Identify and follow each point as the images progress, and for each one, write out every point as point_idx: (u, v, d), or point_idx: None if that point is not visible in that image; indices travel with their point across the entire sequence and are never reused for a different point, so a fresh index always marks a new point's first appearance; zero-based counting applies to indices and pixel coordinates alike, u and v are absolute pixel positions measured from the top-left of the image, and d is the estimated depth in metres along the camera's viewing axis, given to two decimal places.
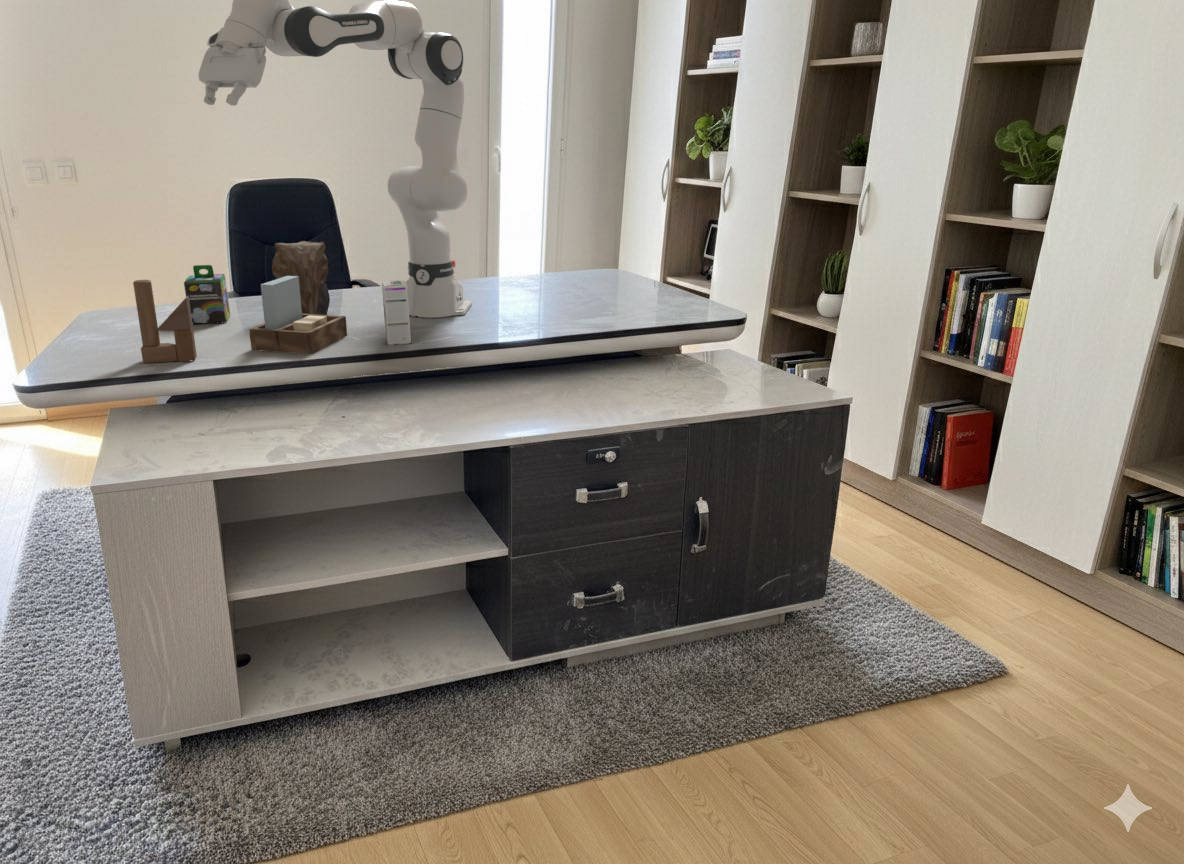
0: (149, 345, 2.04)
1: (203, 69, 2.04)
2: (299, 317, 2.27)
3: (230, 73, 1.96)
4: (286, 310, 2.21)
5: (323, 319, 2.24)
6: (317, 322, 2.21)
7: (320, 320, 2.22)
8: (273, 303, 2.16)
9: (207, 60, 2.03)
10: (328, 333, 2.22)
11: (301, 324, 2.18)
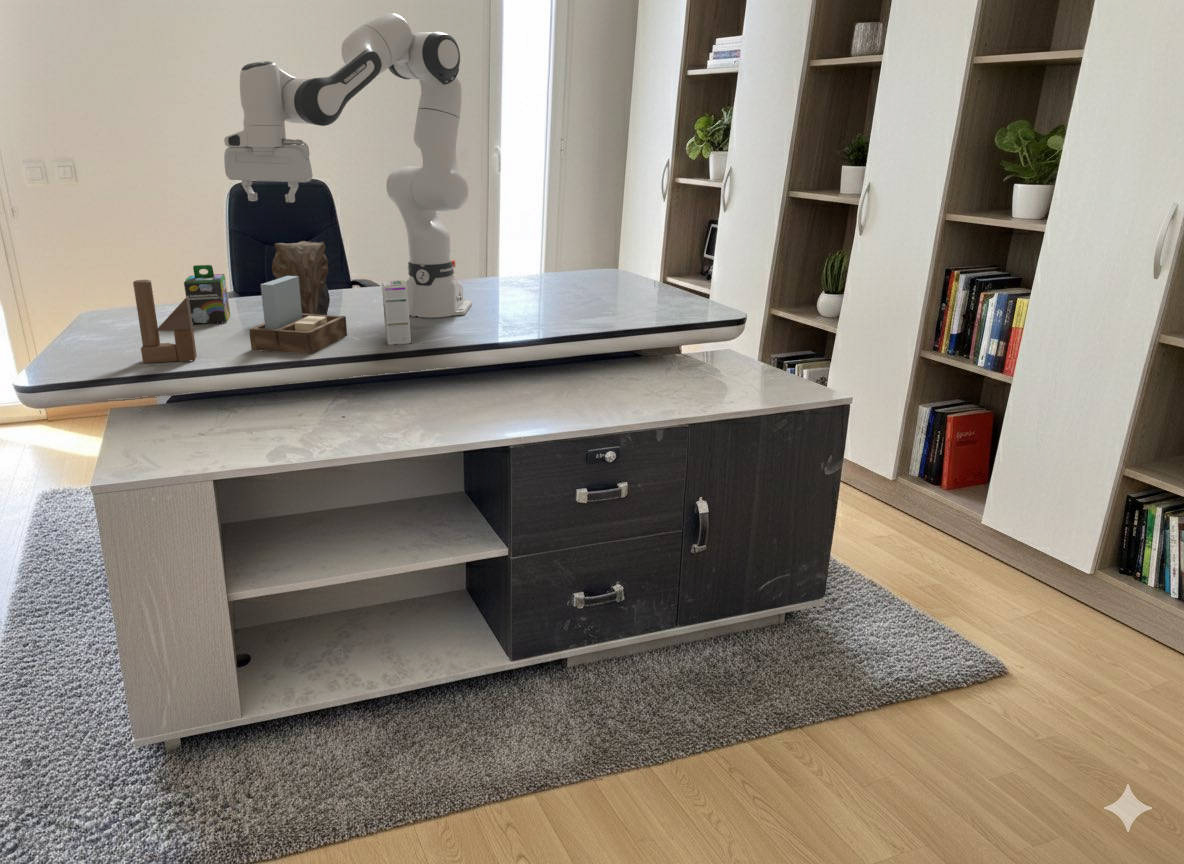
0: (149, 345, 2.04)
1: (231, 169, 2.12)
2: (299, 317, 2.27)
3: (280, 175, 2.10)
4: (286, 310, 2.21)
5: (323, 319, 2.24)
6: (318, 322, 2.21)
7: (321, 320, 2.22)
8: (273, 303, 2.16)
9: (231, 160, 2.11)
10: (328, 333, 2.22)
11: (303, 325, 2.18)
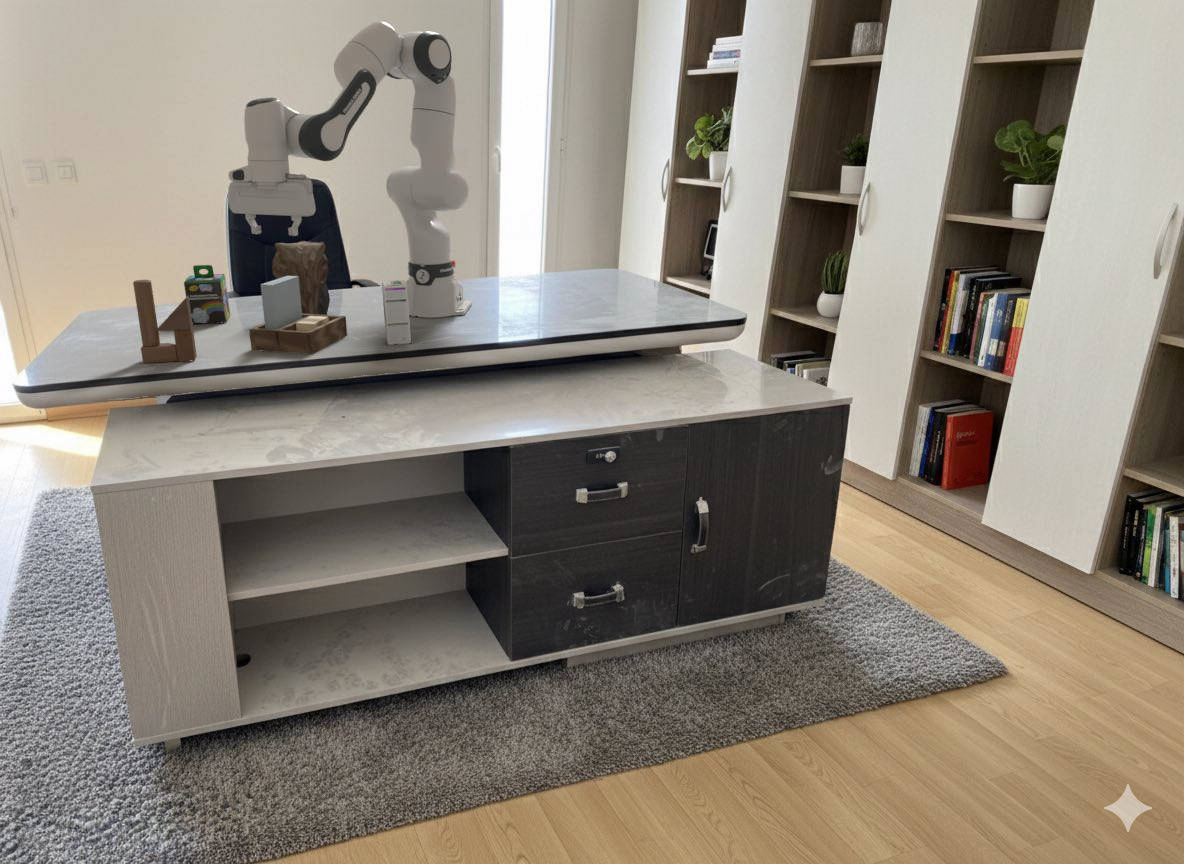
0: (149, 345, 2.04)
1: (234, 202, 2.14)
2: (299, 317, 2.27)
3: (283, 209, 2.12)
4: (286, 310, 2.21)
5: (325, 319, 2.24)
6: (320, 322, 2.21)
7: (322, 320, 2.22)
8: (273, 303, 2.16)
9: (235, 193, 2.13)
10: (328, 333, 2.22)
11: (304, 324, 2.18)
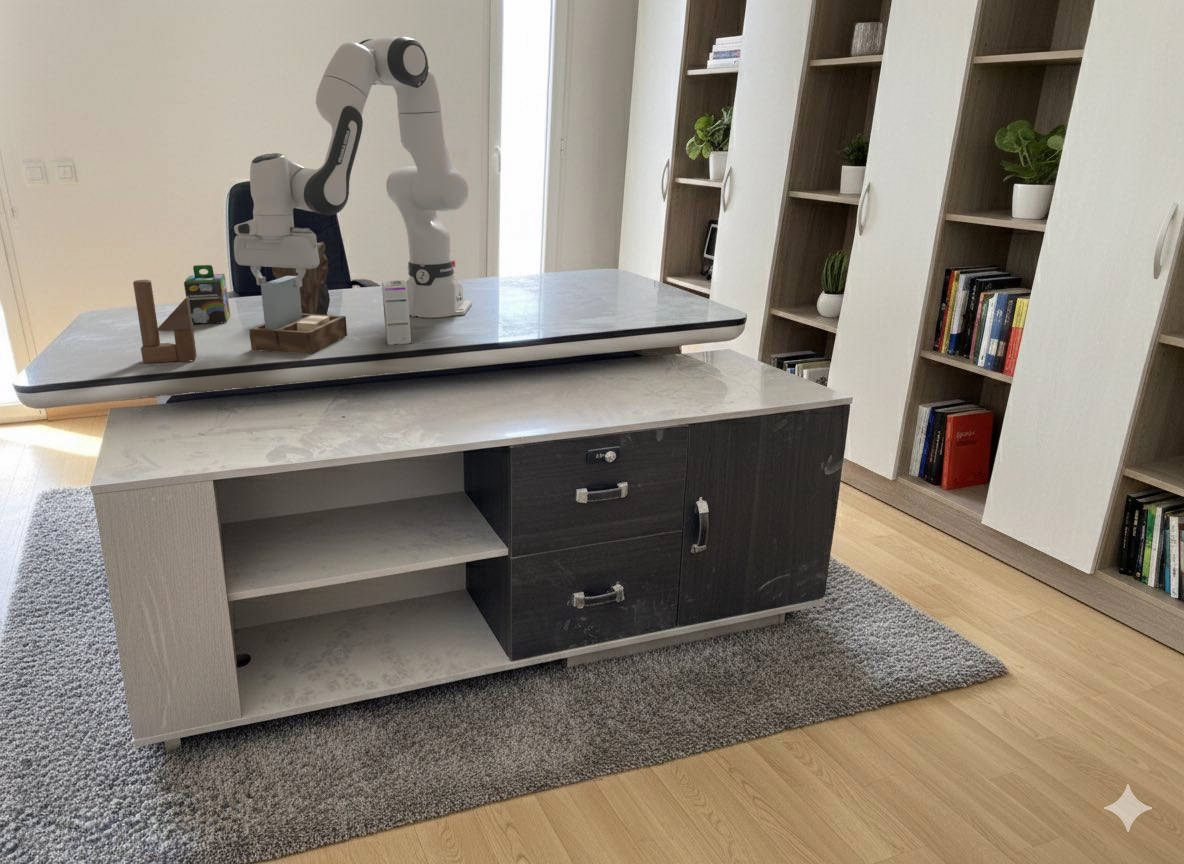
0: (149, 345, 2.04)
1: (240, 255, 2.18)
2: (299, 317, 2.27)
3: (288, 262, 2.16)
4: (286, 310, 2.21)
5: (326, 319, 2.24)
6: (321, 322, 2.21)
7: (323, 320, 2.22)
8: (273, 303, 2.16)
9: (241, 246, 2.17)
10: (328, 333, 2.22)
11: (305, 324, 2.18)
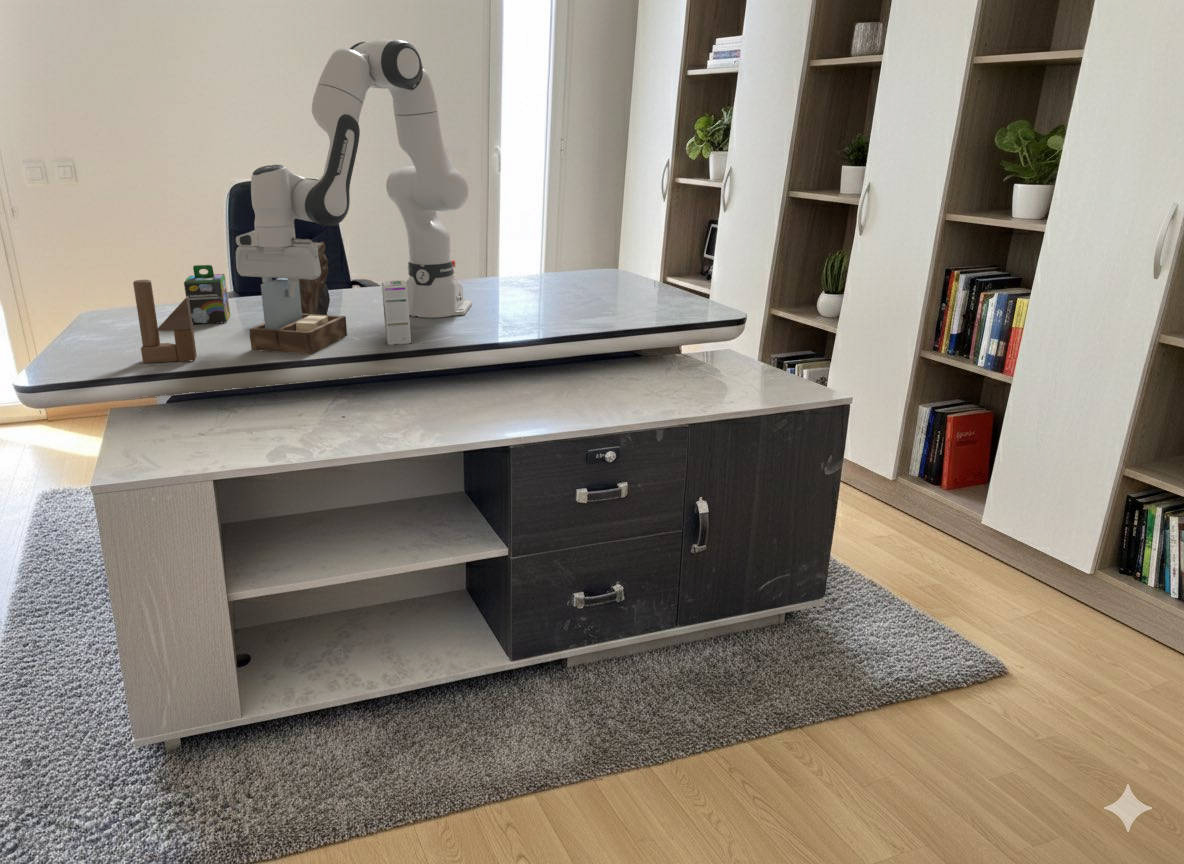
0: (149, 345, 2.04)
1: (242, 266, 2.19)
2: (299, 317, 2.27)
3: (289, 273, 2.17)
4: (286, 309, 2.21)
5: (325, 319, 2.24)
6: (320, 322, 2.21)
7: (322, 320, 2.22)
8: (273, 303, 2.16)
9: (242, 257, 2.18)
10: (328, 333, 2.22)
11: (304, 324, 2.18)
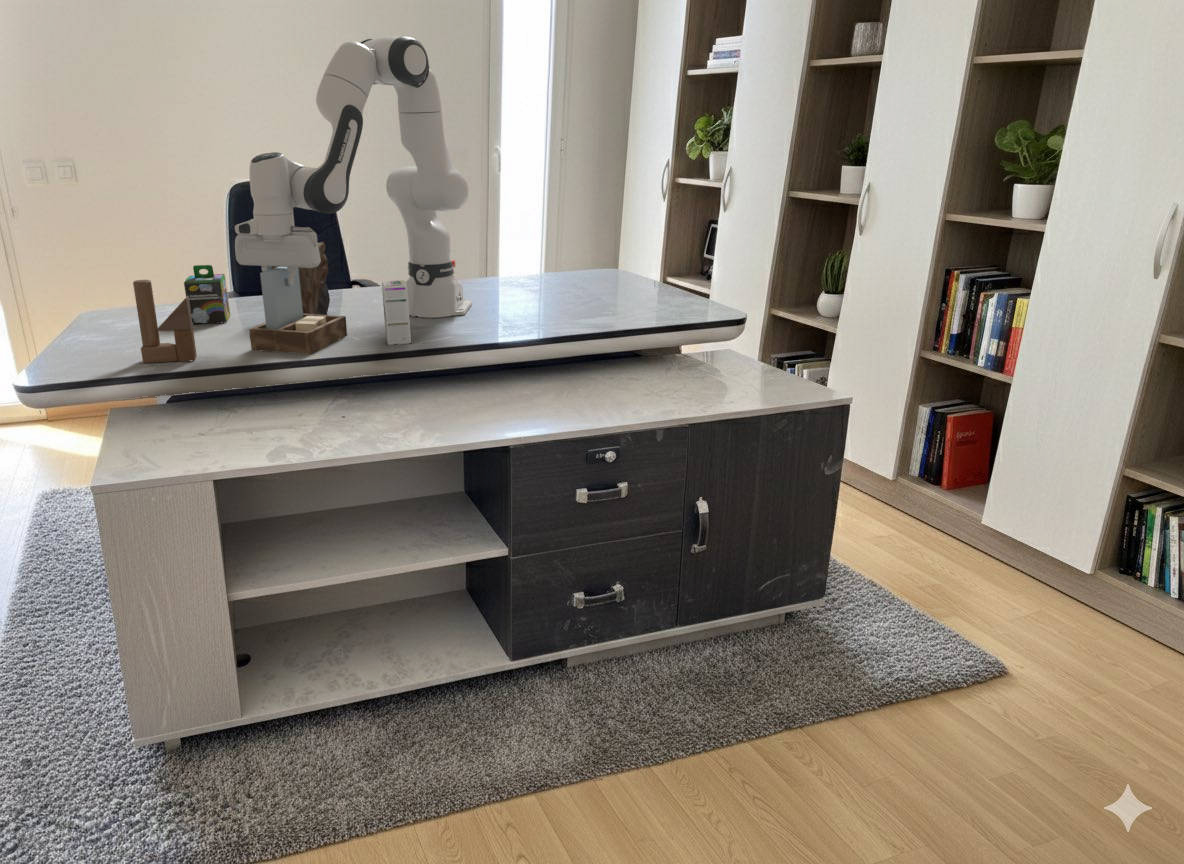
0: (149, 345, 2.04)
1: (241, 254, 2.18)
2: (299, 306, 2.27)
3: (289, 261, 2.16)
4: (286, 298, 2.21)
5: (323, 319, 2.24)
6: (319, 322, 2.21)
7: (321, 320, 2.22)
8: (273, 292, 2.15)
9: (242, 246, 2.17)
10: (328, 333, 2.22)
11: (304, 325, 2.18)
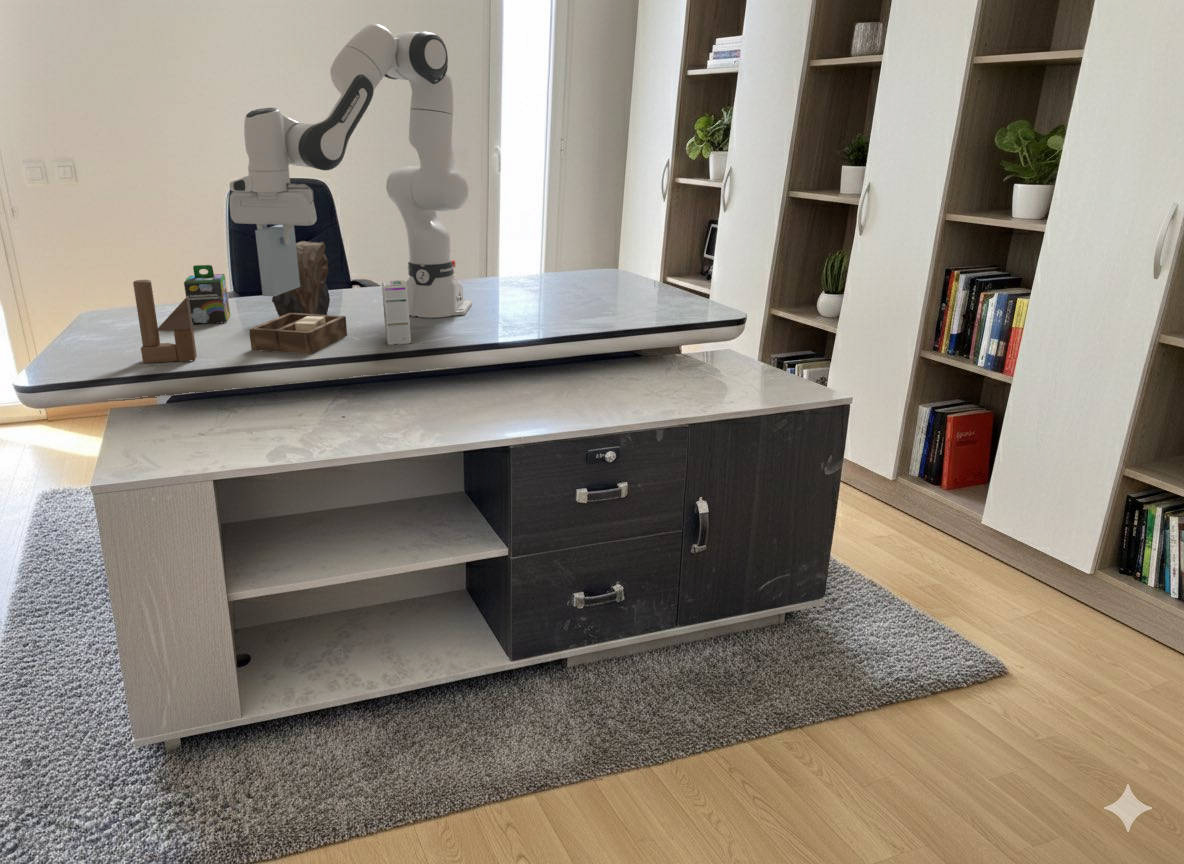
0: (149, 345, 2.04)
1: (236, 213, 2.15)
2: (295, 266, 2.23)
3: (285, 219, 2.13)
4: (282, 257, 2.17)
5: (323, 319, 2.24)
6: (318, 322, 2.21)
7: (320, 320, 2.22)
8: (268, 250, 2.12)
9: (237, 204, 2.14)
10: (328, 333, 2.22)
11: (304, 325, 2.18)
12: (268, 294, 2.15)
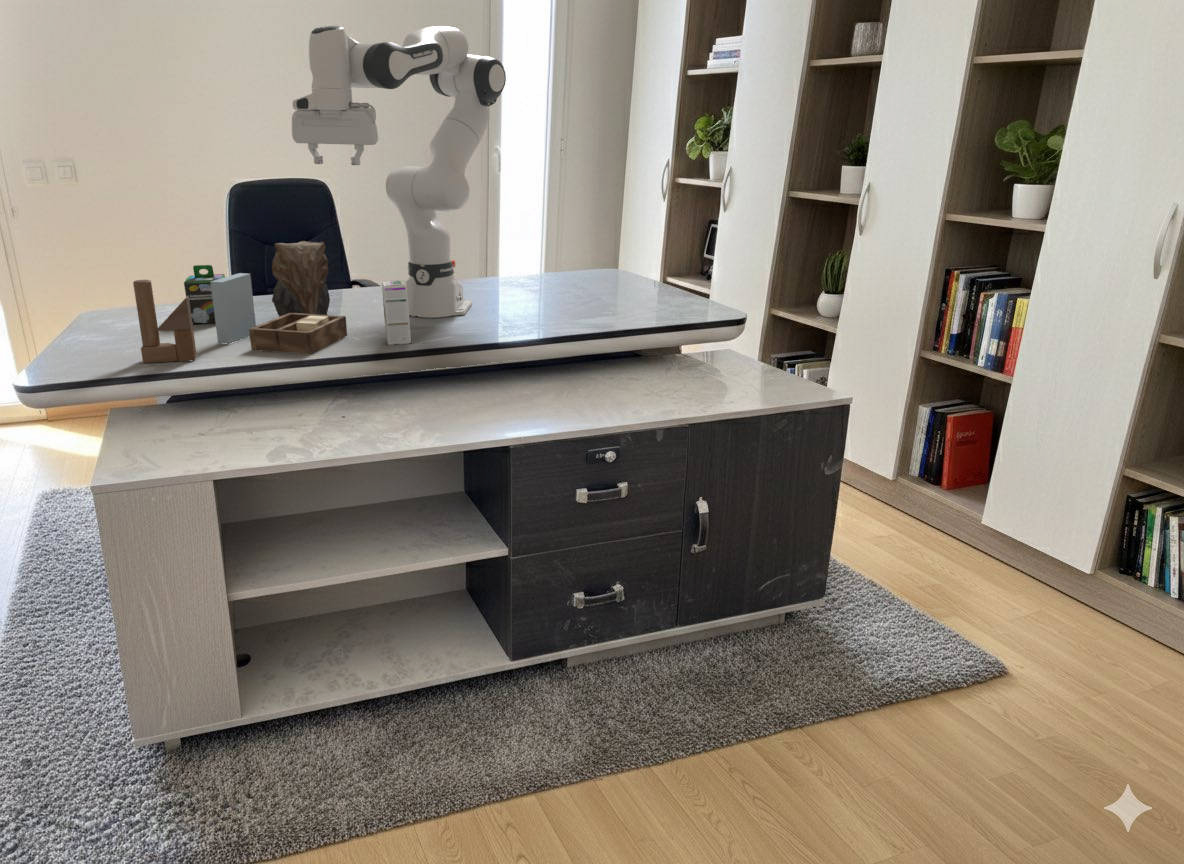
0: (149, 345, 2.04)
1: (298, 132, 2.16)
2: (251, 314, 2.30)
3: (347, 138, 2.14)
4: (237, 307, 2.24)
5: (325, 319, 2.24)
6: (320, 322, 2.21)
7: (323, 320, 2.22)
8: (223, 300, 2.18)
9: (299, 123, 2.15)
10: (328, 333, 2.22)
11: (305, 324, 2.18)
12: (223, 342, 2.22)
